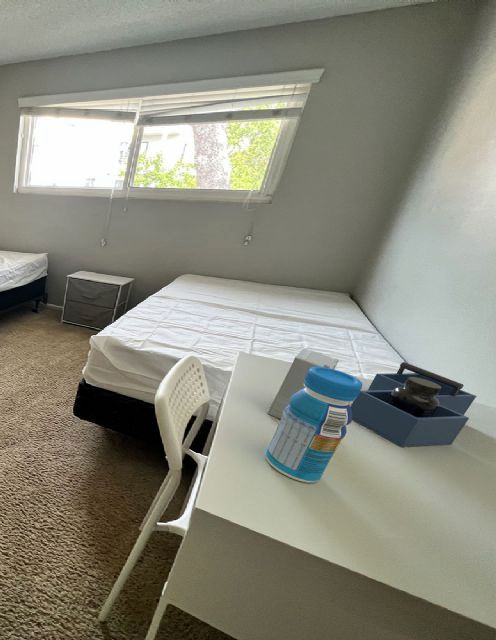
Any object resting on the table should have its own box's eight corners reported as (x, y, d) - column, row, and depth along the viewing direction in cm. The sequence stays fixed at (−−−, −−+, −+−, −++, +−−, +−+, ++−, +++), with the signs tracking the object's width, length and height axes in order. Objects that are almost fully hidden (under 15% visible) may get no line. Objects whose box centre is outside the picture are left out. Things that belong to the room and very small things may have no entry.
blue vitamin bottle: (258, 463, 66) (299, 371, 59) (269, 445, 71) (308, 359, 64) (316, 493, 60) (369, 394, 53) (324, 470, 65) (373, 378, 58)
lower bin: (390, 414, 86) (405, 389, 83) (451, 444, 76) (469, 417, 73) (345, 415, 84) (358, 390, 81) (401, 447, 74) (418, 419, 71)
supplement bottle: (368, 420, 81) (393, 375, 77) (386, 416, 83) (411, 372, 79) (409, 439, 75) (438, 392, 71) (426, 434, 77) (456, 388, 73)
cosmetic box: (275, 403, 87) (300, 346, 81) (312, 417, 82) (341, 358, 76) (265, 414, 82) (291, 354, 76) (304, 430, 77) (334, 368, 71)
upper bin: (404, 395, 95) (424, 361, 91) (460, 420, 85) (485, 383, 81) (364, 396, 93) (382, 362, 89) (416, 422, 83) (439, 384, 79)
